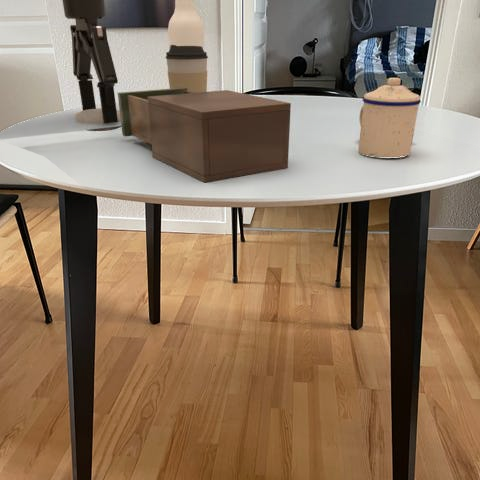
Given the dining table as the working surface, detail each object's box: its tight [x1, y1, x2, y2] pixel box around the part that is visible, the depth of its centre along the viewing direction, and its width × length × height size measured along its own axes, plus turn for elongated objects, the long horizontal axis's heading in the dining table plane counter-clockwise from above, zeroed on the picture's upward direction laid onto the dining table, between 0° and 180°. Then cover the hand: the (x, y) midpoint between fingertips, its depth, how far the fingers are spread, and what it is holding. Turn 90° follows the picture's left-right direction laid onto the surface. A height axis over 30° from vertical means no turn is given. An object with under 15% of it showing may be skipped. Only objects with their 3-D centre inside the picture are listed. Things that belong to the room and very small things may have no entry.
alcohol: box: [167, 0, 205, 51], centre depth 125 cm, size 9×9×30 cm
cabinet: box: [147, 89, 292, 183], centre depth 78 cm, size 18×15×9 cm
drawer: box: [117, 88, 195, 145], centre depth 89 cm, size 18×14×7 cm
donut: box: [74, 108, 122, 132], centre depth 104 cm, size 10×4×10 cm
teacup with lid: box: [357, 77, 422, 157], centre depth 83 cm, size 12×9×12 cm
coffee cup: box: [165, 45, 209, 93], centre depth 108 cm, size 9×9×15 cm
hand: (100, 118), depth 104 cm, fingers open, 12 cm apart
